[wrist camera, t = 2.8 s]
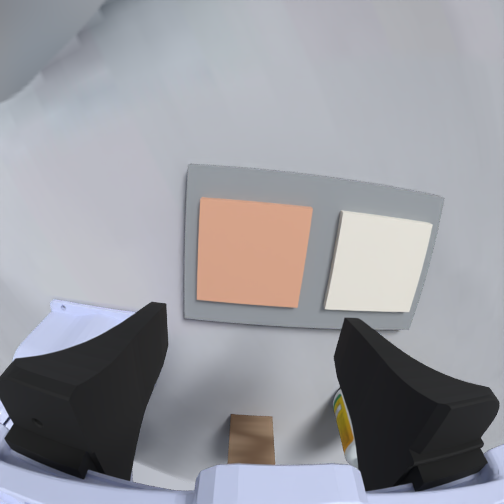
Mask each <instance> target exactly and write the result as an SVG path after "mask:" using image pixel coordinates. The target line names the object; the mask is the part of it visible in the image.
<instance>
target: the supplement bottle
mask: <svg viewBox="0 0 504 504" xmlns="http://www.w3.org/2000/svg"><path fill="white" fill-rule="evenodd" d="M333 409H334V413H335V417H336V421H337V425H338V429H339V433H340V438H341V442H342V446H343V451H344V455H345V458H346V461H347V462H348V463H349V464H350V465H351V466H353V467H355V468H357V469H358V461H357V453H356V445H355V439H354V433H353V427H352V423H351V419H350V416H349V412H348V409H347V406H346V403H345V400H344V397H343V394H342V391H341V389H340V390H339V391H338V392H337V393H336V395H335V397H334V400H333Z"/></svg>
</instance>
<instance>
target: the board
mask: <svg viewBox="0 0 504 504" xmlns="http://www.w3.org/2000/svg"><path fill="white" fill-rule="evenodd" d="M443 203H444V198H443V197H441V196H438V195H434V194H429V193H424V192H419V191H413V190H408V189H403V188H397V187H392V186H386V185H380V184H374V183H368V182H361V181H355V180H348V179H341V178H334V177H327V176H319V175H311V174H303V173H294V172H285V171H276V170H266V169H255V168H243V167H230V166H216V165H200V164H190V165H188V174H187V194H186V219H185V261H184V318H188V319H197V320H207V321H218V322H229V323H241V324H254V325H268V326H284V327H303V328H327V329H342V325H343V322H344V318H345V317H346V318H359V319H361V320H362V321H364V322H365V323H366V324H368V325H369V326H370V327H371V328H373V329H374V330H409V328H410V325H411V323H412V320H413V317H414V314H415V311H416V308H417V305H418V302H419V299H420V295H421V292H422V289H423V285H424V282H425V279H426V275H427V272H428V268H429V264H430V260H431V257H432V253H433V249H434V245H435V240H436V236H437V232H438V227H439V223H440V218H441V213H442V208H443Z"/></svg>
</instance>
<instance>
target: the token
mask: <svg viewBox="0 0 504 504" xmlns="http://www.w3.org/2000/svg"><path fill="white" fill-rule="evenodd" d="M235 463H242V464H264V465H275V453H274V437H273V421H272V416H250V415H235V414H231V421H230V435H229V450H228V464H235Z"/></svg>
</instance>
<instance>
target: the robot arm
mask: <svg viewBox="0 0 504 504" xmlns="http://www.w3.org/2000/svg"><path fill="white" fill-rule="evenodd" d="M50 306H51V312H50V313H49V314H48V315H47V316H46V317H45V319H44V320H43V321H42V322H41V323H40V324H39V325H38V326H37V327H36V328H35V329H34V330H33V331H32V332H31V333H30V334H29V335H28V336H27V338H26V339H25V340H24V341H23V342H22V343H21V344H20V345H19V347H18V348H17V350H16V352H15V354H14V357H13V360H12V363H11V364H10V365H9V366H8V368H7V369H6V370H5V371H4V372H3V374H2V375H1V376H0V504H504V444H502V445H500V446H497V447H494V448H492V449H490V450H488V451H487V452H485V453H484V454H483V452H482V451H481V449H480V448H482V447H483V445H484V443H483V441H482V439H481V436H482V435H483V434H484V432H485V431H486V430H487V428H488V427H489V426H490V424H491V423H492V421H493V420H494V418H495V417H496V415H497V412H498V410H499V401H498V399H497V398H496V396H495V395H494V393H493V392H492V390H491V389H490V388H489V387H485V386H480V385H476V384H472V383H468V382H465V381H461V380H458V379H455V378H453V377H450V376H447V375H445V374H443V373H440V372H438V371H436V370H434V369H432V368H430V367H428V366H426V365H424V364H422V363H420V362H419V361H417V360H415V359H413V358H412V357H410V356H409V355H407V354H406V353H404V352H403V351H401V350H400V349H398V348H397V347H396V346H394V345H393V344H392V343H390V342H389V341H388V340H386V339H385V338H384V337H383V336H381V335H380V334H379V333H378V332H376V331H375V330H374V329H373V328H371V327H370V326H369V325H368V324H366V323H365V322H364V321H362V320H361V319H359V318H346V317H345V318H344V322H343V325H342V329H341V333H340V337H339V340H338V344H337V347H336V351H335V354H334V361H335V368H336V373H337V378H338V381H339V384H340V388H341V391H342V394H343V397H344V400H345V403H346V406H347V409H348V412H349V416H350V419H351V423H352V427H353V433H354V439H355V445H356V453H357V461H358V469H356V468H355V467H353V466H351V465H348V464H336V463H327V464H304V465H264V464H242V463H235V464H218V465H215V466H213V467H210V468H207V469H204V470H202V471H201V472H200V473H199V475H198V477H197V478H196V483H195V490H194V491H181V490H171V489H165V488H160V487H154V486H149V485H144V484H140V483H136V482H133V478H132V466H133V461H134V455H135V450H136V445H137V441H138V436H139V432H140V428H141V424H142V420H143V416H144V412H145V409H146V406H147V404H148V401H149V399H150V396H151V394H152V391H153V389H154V387H155V386H156V381H157V379H158V377H159V374H160V372H161V369H162V367H163V364H164V360H165V356H166V352H167V348H168V331H167V310H166V304H165V303H157V302H151V303H149V304H148V305H146V306H145V307H143V308H142V309H140V310H139V311H137V312H130V311H123V310H116V309H109V308H103V307H97V306H90V305H84V304H78V303H73V302H67V301H62V300H56V299H54V300H52V301H51V303H50ZM64 306H65V308H64Z"/></svg>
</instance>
